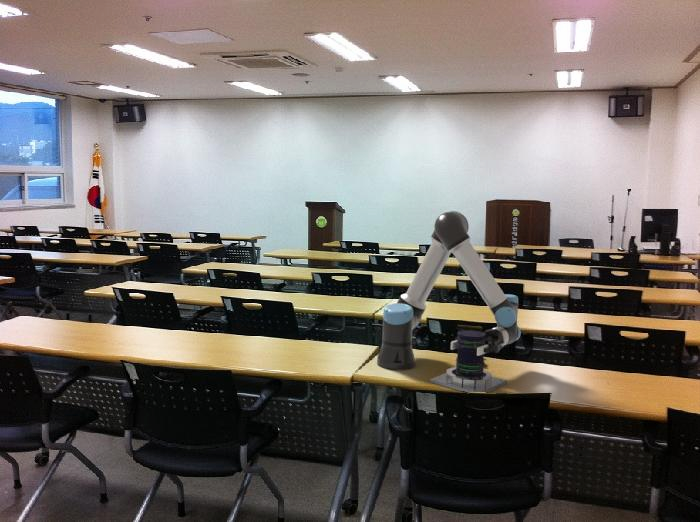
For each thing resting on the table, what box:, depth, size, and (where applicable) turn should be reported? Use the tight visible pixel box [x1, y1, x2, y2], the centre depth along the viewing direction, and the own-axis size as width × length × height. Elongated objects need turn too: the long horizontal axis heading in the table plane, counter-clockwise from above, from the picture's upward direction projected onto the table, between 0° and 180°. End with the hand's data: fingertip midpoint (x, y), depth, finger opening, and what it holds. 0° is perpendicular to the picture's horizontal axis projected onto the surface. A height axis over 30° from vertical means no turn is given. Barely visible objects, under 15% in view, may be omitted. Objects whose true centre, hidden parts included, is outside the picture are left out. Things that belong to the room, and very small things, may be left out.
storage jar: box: [455, 329, 485, 378], centre depth 204 cm, size 10×10×15 cm
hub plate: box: [429, 366, 508, 393], centre depth 206 cm, size 20×20×4 cm
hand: (464, 348), depth 201 cm, fingers closed on storage jar, 10 cm apart
